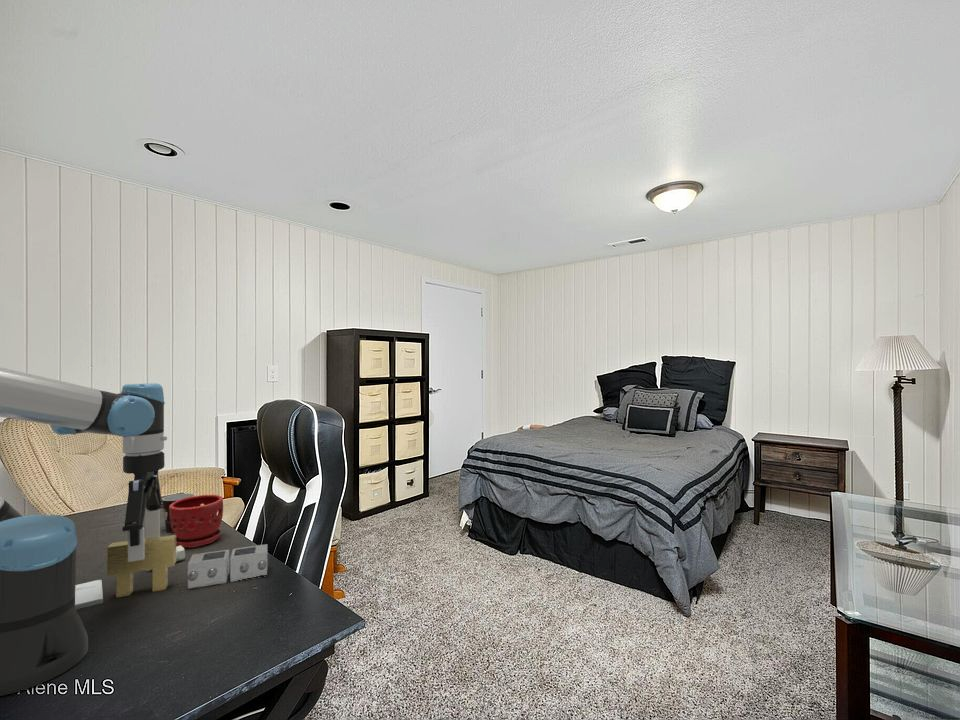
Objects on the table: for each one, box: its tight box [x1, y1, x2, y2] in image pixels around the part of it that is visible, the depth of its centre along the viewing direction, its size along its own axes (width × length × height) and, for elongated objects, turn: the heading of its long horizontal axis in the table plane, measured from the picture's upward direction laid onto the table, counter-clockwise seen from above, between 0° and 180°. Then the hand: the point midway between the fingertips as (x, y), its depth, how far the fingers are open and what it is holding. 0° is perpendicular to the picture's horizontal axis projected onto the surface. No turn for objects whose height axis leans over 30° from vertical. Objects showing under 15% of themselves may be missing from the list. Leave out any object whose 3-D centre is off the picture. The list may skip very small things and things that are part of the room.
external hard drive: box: [75, 579, 104, 610], centre depth 101 cm, size 2×8×12 cm
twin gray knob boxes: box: [187, 543, 268, 590], centre depth 110 cm, size 7×16×6 cm, turn 113°
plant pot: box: [169, 494, 224, 549], centre depth 134 cm, size 13×13×12 cm
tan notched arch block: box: [106, 534, 177, 599], centre depth 104 cm, size 3×12×11 cm, turn 113°
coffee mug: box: [161, 492, 196, 534], centre depth 144 cm, size 12×9×10 cm
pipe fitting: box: [145, 545, 186, 572], centre depth 119 cm, size 8×4×7 cm
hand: (145, 548), depth 104 cm, fingers open, 13 cm apart
